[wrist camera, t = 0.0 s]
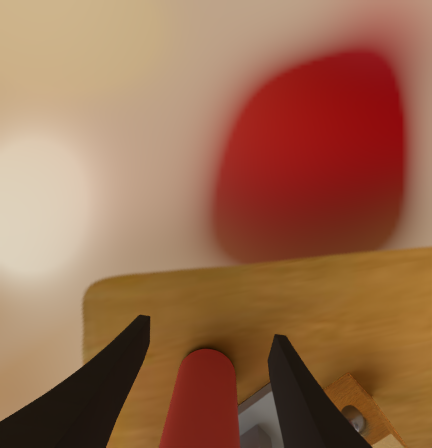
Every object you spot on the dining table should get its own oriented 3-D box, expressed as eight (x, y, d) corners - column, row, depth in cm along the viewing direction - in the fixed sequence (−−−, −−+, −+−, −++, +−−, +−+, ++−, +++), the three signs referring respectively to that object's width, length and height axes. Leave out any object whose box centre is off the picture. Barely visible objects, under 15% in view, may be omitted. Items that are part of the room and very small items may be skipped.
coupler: (344, 420, 24) (383, 495, 18) (314, 390, 24) (344, 455, 18) (374, 400, 24) (425, 470, 18) (344, 368, 23) (386, 429, 17)
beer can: (198, 334, 23) (171, 482, 11) (246, 363, 23) (268, 537, 12) (169, 376, 24) (116, 552, 12) (215, 403, 24) (208, 601, 12)
